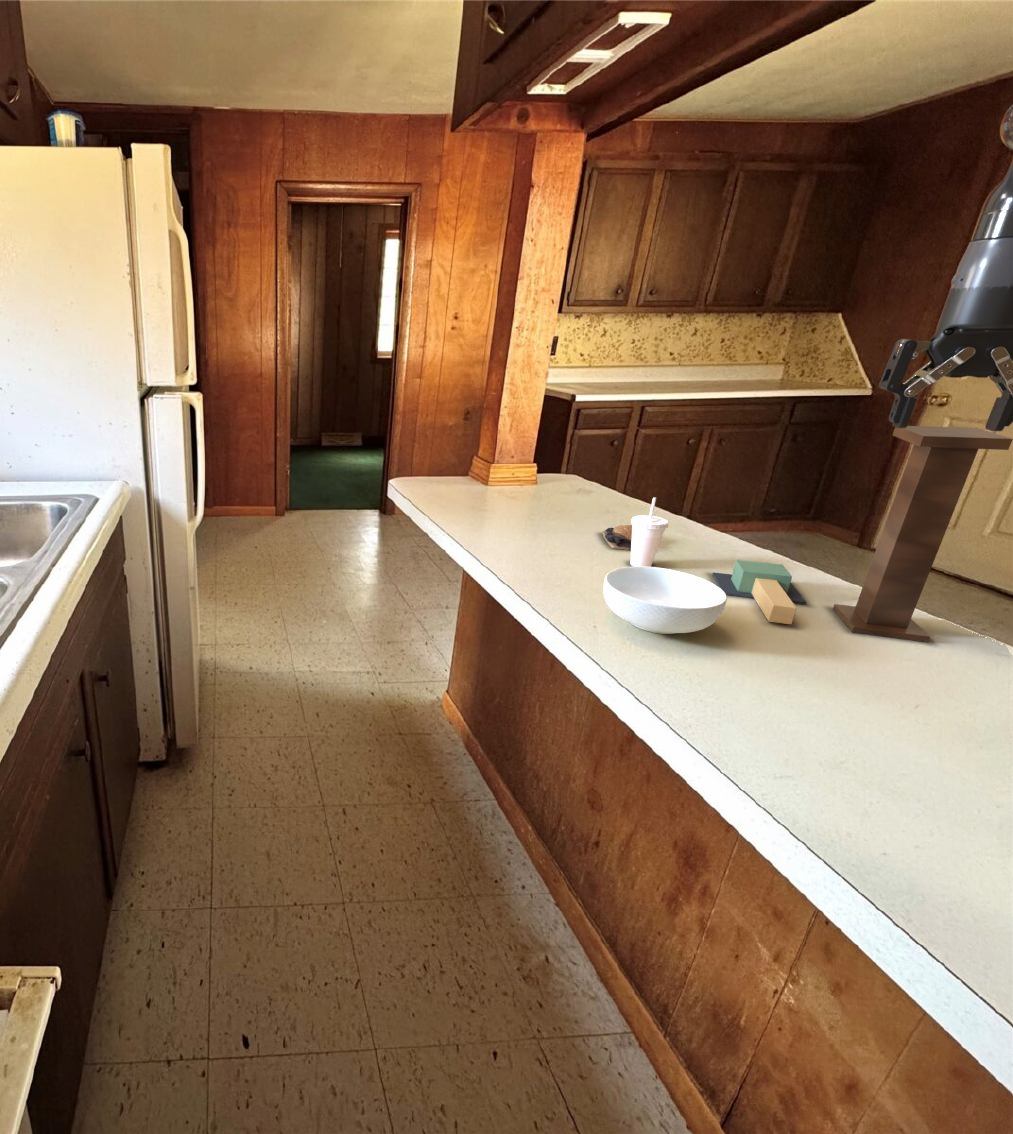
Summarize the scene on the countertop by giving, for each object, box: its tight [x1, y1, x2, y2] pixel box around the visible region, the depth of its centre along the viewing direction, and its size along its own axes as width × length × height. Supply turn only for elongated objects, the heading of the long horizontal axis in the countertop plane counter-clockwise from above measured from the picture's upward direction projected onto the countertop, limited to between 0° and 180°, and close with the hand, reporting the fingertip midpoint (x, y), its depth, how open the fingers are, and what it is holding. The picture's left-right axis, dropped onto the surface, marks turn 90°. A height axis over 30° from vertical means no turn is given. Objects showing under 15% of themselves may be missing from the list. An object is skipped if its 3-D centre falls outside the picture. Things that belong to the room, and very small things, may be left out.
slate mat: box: [711, 572, 807, 605], centre depth 114 cm, size 12×10×1 cm
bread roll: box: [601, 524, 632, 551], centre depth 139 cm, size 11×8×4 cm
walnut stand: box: [832, 425, 1013, 643], centre depth 95 cm, size 9×9×31 cm
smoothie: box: [629, 497, 670, 567], centre depth 124 cm, size 6×6×14 cm
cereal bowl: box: [602, 565, 728, 635], centre depth 102 cm, size 17×17×7 cm
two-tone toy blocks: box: [731, 559, 797, 625], centre depth 108 cm, size 7×18×4 cm, turn 155°
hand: (945, 428), depth 76 cm, fingers open, 8 cm apart
